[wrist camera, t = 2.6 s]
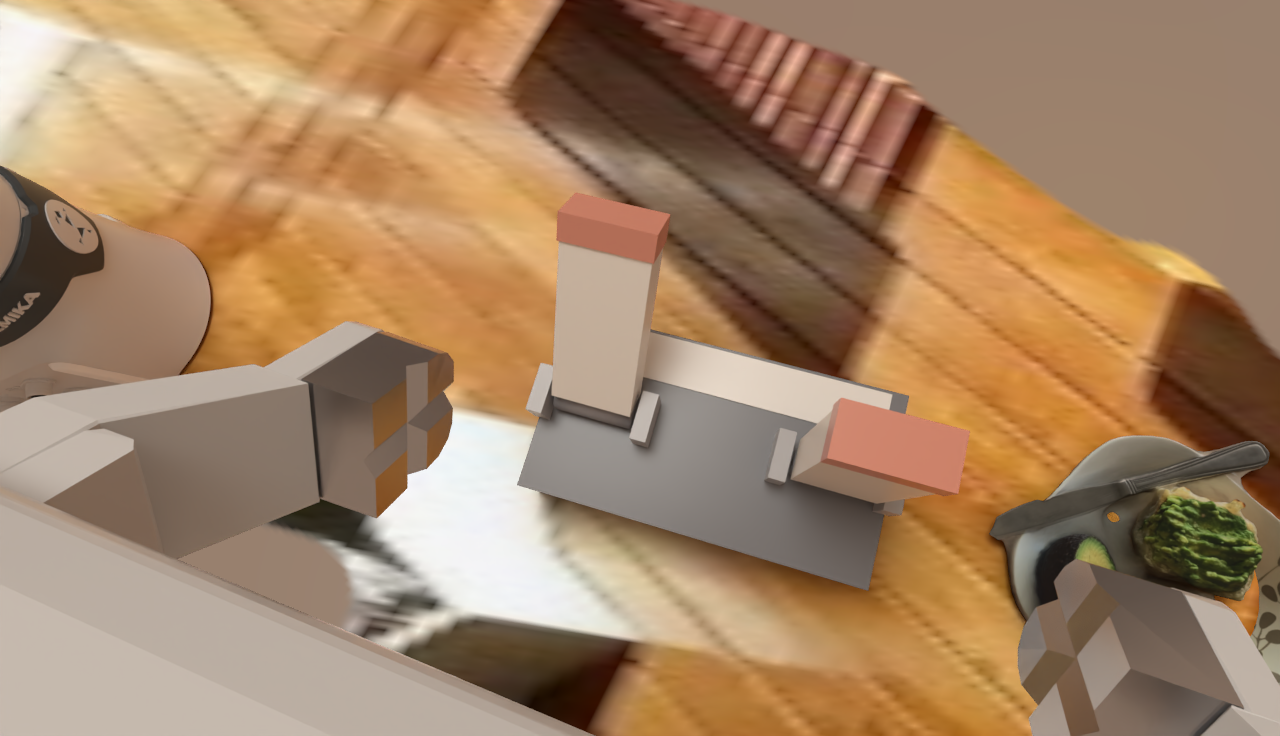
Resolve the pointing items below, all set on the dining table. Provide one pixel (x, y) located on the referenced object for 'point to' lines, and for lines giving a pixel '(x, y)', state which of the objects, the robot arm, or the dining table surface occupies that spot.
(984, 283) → the dining table surface
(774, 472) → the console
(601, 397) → the lever
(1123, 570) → the salad plate
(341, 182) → the dining table surface
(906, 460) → the lever
